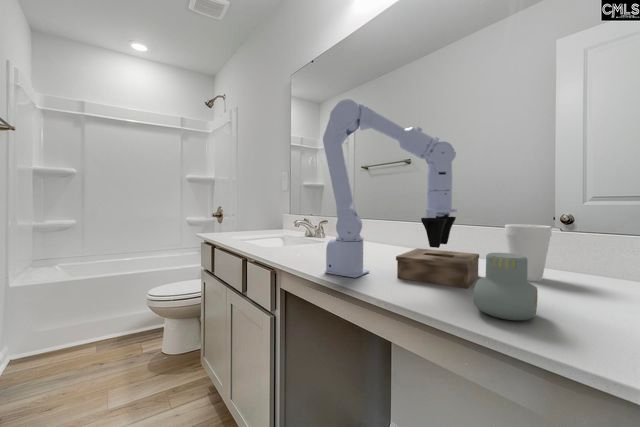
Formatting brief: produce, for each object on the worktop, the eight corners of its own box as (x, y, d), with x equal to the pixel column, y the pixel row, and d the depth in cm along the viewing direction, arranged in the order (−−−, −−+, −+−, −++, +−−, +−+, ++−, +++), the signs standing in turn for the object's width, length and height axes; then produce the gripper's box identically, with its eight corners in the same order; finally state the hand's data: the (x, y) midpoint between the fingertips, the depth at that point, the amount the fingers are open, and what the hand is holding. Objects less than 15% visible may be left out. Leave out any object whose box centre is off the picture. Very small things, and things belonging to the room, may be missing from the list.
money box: (395, 278, 74) (395, 256, 74) (417, 267, 87) (417, 248, 87) (466, 289, 65) (467, 264, 65) (478, 275, 78) (479, 253, 77)
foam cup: (535, 273, 79) (536, 224, 79) (559, 283, 70) (561, 227, 70) (497, 273, 80) (498, 224, 80) (516, 282, 71) (517, 227, 70)
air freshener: (484, 301, 57) (485, 249, 57) (537, 311, 52) (539, 253, 52) (470, 318, 49) (471, 257, 48) (532, 332, 44) (533, 263, 43)
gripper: (449, 190, 67) (448, 250, 67) (462, 191, 79) (461, 243, 79) (417, 190, 71) (417, 247, 72) (434, 192, 83) (434, 241, 83)
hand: (438, 245), depth 76 cm, fingers open, 7 cm apart
